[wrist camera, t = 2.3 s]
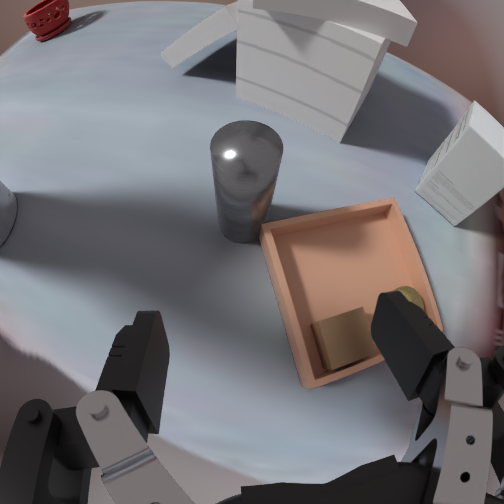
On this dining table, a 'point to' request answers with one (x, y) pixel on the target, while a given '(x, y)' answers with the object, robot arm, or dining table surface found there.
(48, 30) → the plant pot
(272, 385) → the dining table surface
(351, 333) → the walnut block
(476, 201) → the supplement box
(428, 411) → the robot arm
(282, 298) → the tray
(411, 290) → the brass disc
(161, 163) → the dining table surface
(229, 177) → the disc
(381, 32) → the pizza boxes
